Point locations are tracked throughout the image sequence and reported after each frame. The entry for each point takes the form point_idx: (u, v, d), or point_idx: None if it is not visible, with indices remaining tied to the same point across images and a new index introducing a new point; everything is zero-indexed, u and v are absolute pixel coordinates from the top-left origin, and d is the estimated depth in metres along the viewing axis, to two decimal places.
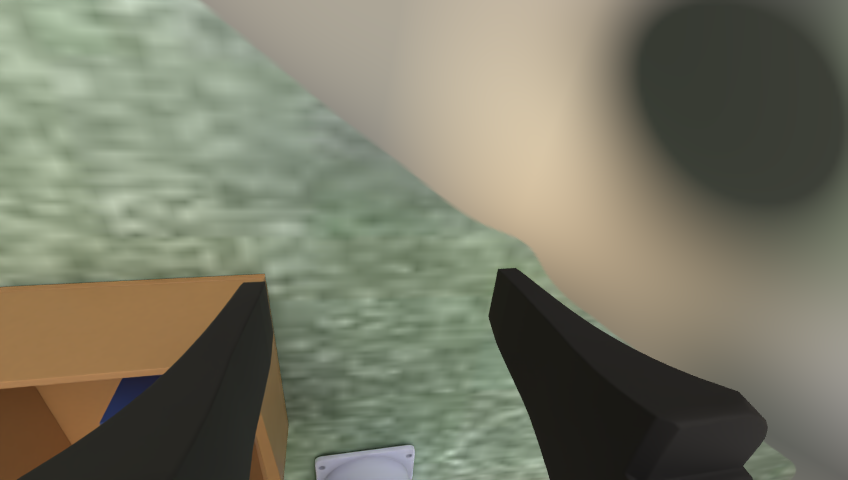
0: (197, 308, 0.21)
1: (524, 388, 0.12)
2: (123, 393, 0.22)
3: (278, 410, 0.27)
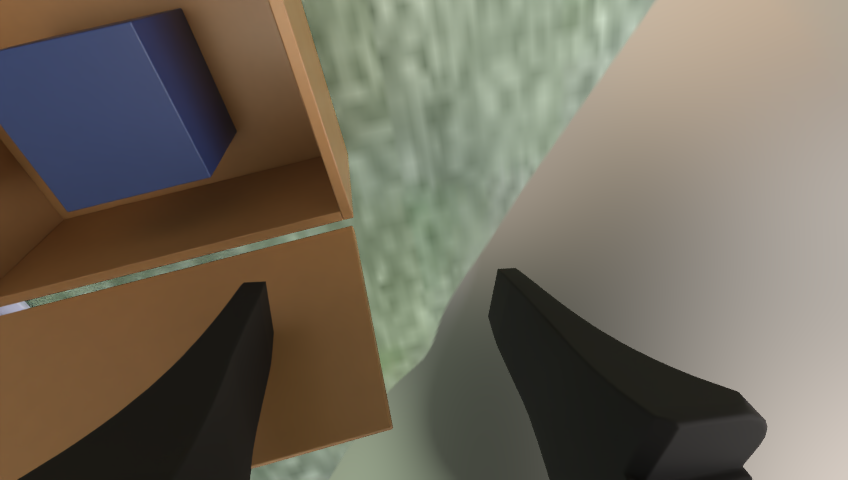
0: (330, 113, 0.17)
1: (524, 388, 0.12)
2: (158, 31, 0.14)
3: None
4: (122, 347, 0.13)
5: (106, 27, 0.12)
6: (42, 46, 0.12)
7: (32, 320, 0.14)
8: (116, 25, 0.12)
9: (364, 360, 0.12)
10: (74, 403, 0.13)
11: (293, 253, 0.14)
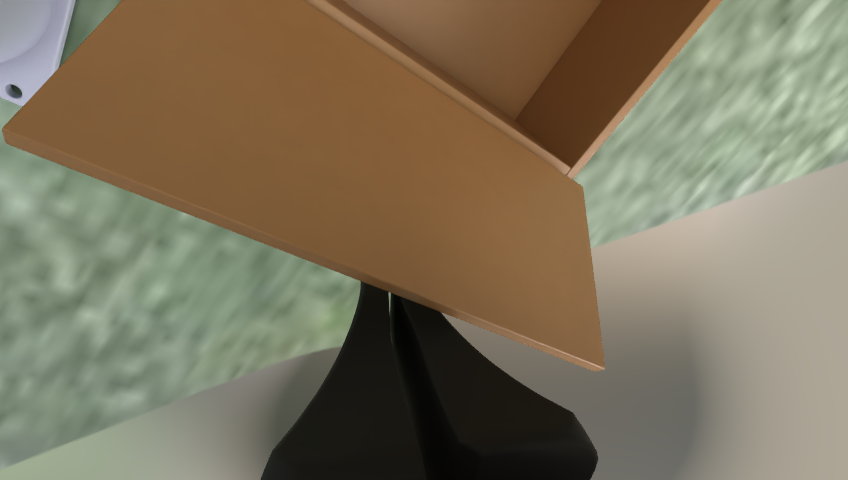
0: None
1: (408, 401, 0.12)
2: None
3: None
4: (395, 124, 0.11)
5: None
6: None
7: (298, 10, 0.11)
8: None
9: (589, 301, 0.13)
10: (340, 139, 0.10)
11: (543, 170, 0.14)
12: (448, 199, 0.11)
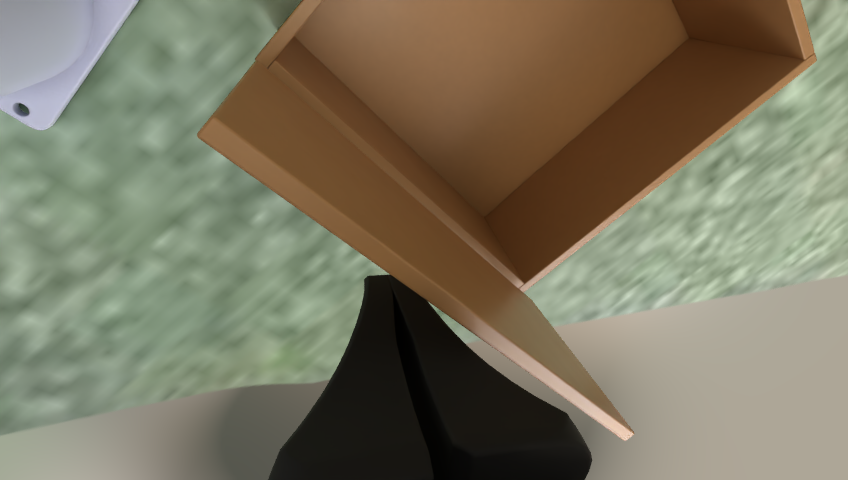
0: None
1: None
2: None
3: None
4: (424, 221, 0.12)
5: None
6: None
7: (336, 132, 0.12)
8: None
9: (591, 379, 0.14)
10: (405, 217, 0.11)
11: (508, 282, 0.17)
12: (481, 281, 0.12)
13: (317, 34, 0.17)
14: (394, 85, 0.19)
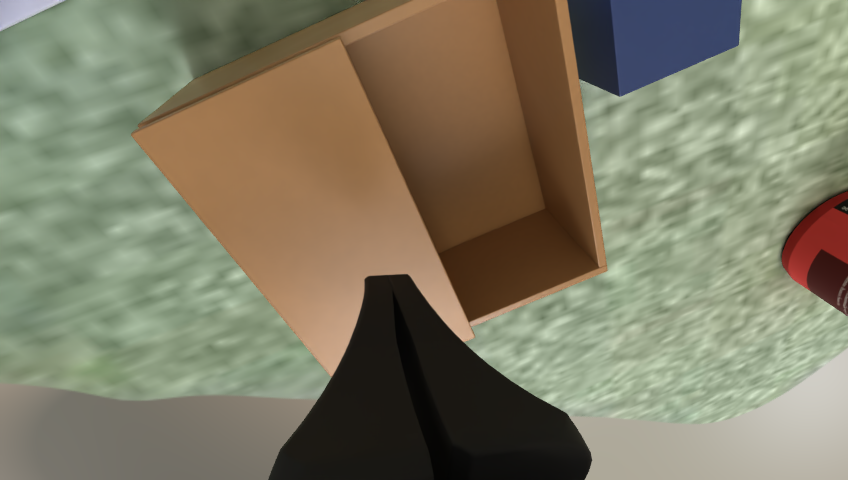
0: None
1: None
2: None
3: None
4: None
5: None
6: None
7: None
8: None
9: None
10: None
11: None
12: None
13: None
14: None
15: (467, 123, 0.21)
